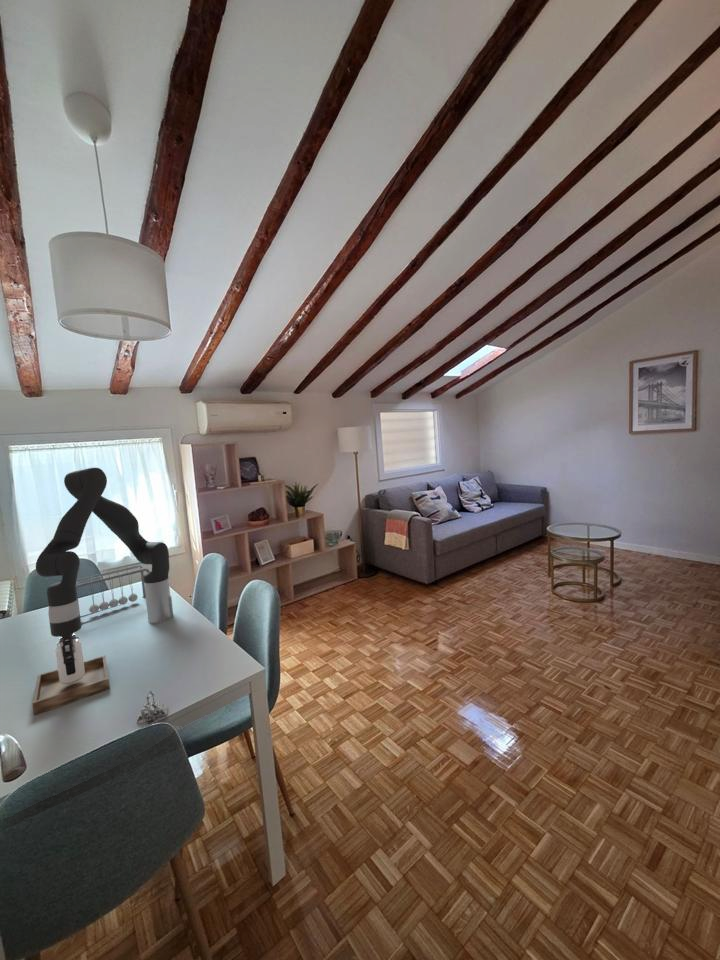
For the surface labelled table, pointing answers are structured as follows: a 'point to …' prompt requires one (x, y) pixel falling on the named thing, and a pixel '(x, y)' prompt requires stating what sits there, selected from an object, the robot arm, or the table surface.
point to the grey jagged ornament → (152, 710)
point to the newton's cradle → (113, 602)
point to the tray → (70, 686)
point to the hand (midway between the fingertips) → (71, 669)
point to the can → (78, 664)
